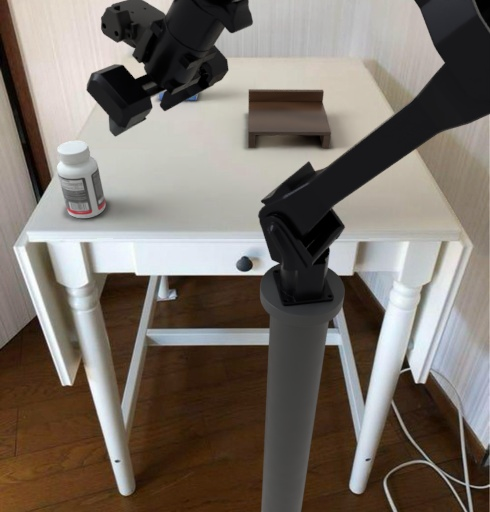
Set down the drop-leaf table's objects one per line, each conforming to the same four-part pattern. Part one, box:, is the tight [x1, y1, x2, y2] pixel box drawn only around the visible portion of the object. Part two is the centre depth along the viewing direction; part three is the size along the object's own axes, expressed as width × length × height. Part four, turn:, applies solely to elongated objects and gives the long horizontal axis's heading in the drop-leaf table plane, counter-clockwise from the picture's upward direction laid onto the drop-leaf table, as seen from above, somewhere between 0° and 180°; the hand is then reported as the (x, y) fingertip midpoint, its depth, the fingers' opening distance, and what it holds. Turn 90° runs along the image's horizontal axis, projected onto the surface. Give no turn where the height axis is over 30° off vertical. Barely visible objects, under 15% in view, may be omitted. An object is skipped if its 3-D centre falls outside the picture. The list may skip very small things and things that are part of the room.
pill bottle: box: [56, 140, 107, 219], centre depth 71 cm, size 5×5×10 cm
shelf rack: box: [247, 88, 332, 149], centre depth 93 cm, size 14×14×5 cm
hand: (139, 120), depth 66 cm, fingers open, 9 cm apart
